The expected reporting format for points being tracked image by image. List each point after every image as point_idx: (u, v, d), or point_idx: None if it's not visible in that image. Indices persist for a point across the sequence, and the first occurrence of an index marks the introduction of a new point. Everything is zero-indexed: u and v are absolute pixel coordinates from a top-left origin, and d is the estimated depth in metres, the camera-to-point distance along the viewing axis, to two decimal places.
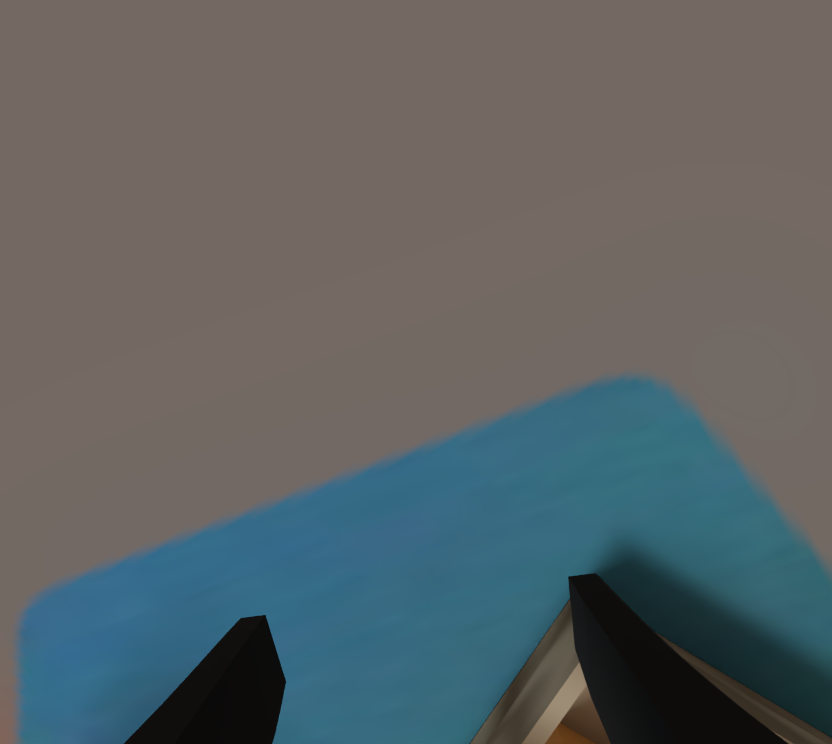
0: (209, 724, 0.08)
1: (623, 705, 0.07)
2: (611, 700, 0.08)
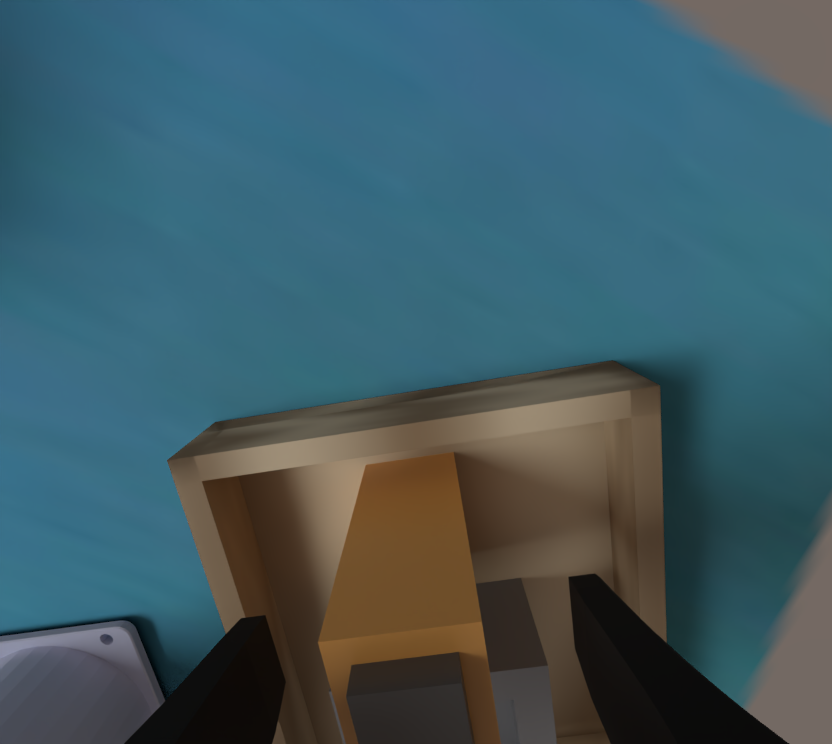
0: (209, 724, 0.08)
1: (623, 705, 0.07)
2: (611, 700, 0.08)
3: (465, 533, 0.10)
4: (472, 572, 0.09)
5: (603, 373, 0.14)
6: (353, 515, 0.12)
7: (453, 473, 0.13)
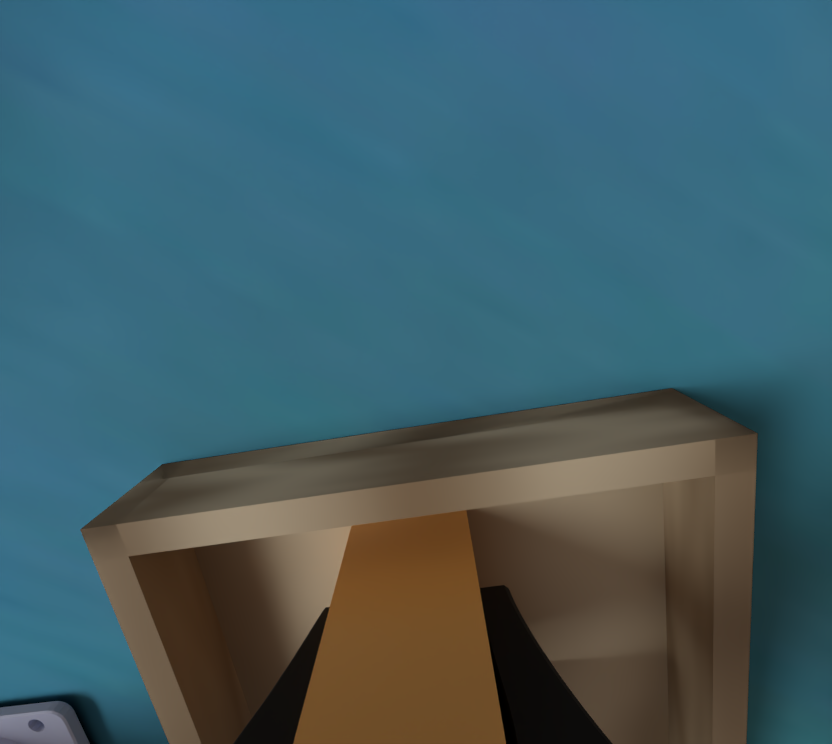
0: None
1: (505, 718, 0.08)
2: (502, 712, 0.08)
3: (489, 661, 0.07)
4: None
5: (665, 408, 0.10)
6: (330, 612, 0.08)
7: (467, 544, 0.10)
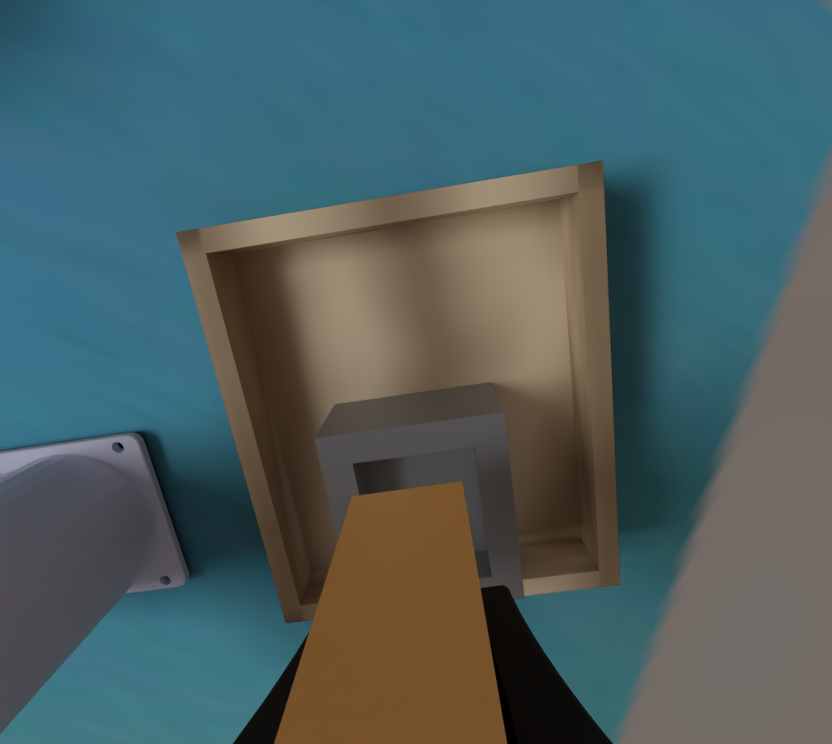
0: None
1: (505, 718, 0.08)
2: (502, 712, 0.08)
3: (481, 610, 0.07)
4: (495, 684, 0.06)
5: None
6: (329, 572, 0.09)
7: (463, 513, 0.10)
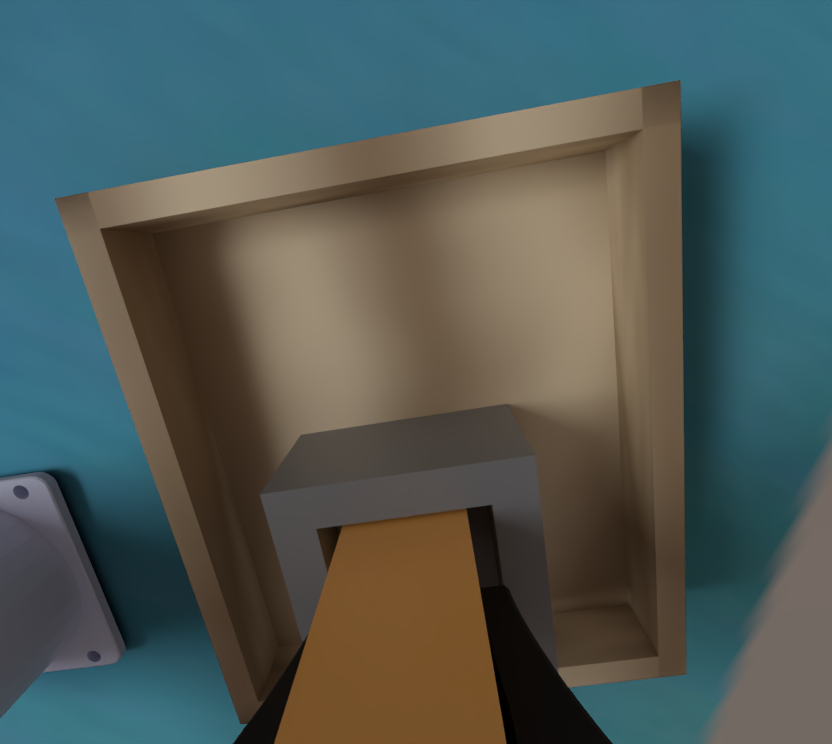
0: None
1: (505, 718, 0.08)
2: (501, 712, 0.08)
3: (481, 610, 0.07)
4: (494, 684, 0.06)
5: None
6: (329, 573, 0.09)
7: (462, 513, 0.10)
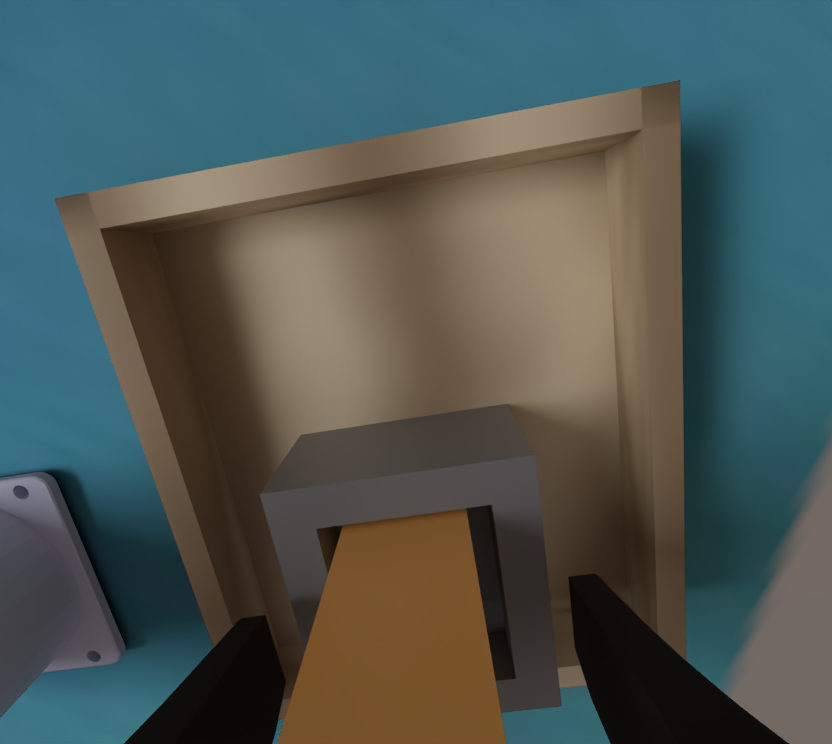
0: (209, 724, 0.08)
1: (623, 705, 0.07)
2: (611, 700, 0.08)
3: (481, 612, 0.07)
4: (494, 687, 0.06)
5: None
6: (330, 574, 0.09)
7: (462, 513, 0.10)
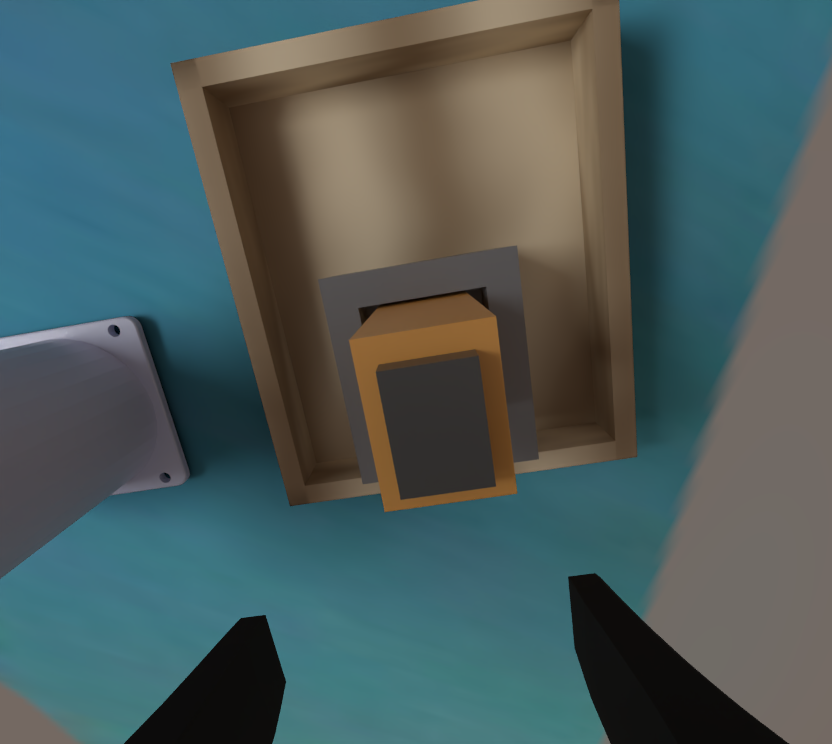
0: (209, 724, 0.08)
1: (623, 705, 0.07)
2: (611, 700, 0.08)
3: (478, 303, 0.11)
4: (485, 308, 0.10)
5: None
6: (372, 314, 0.13)
7: (464, 294, 0.14)
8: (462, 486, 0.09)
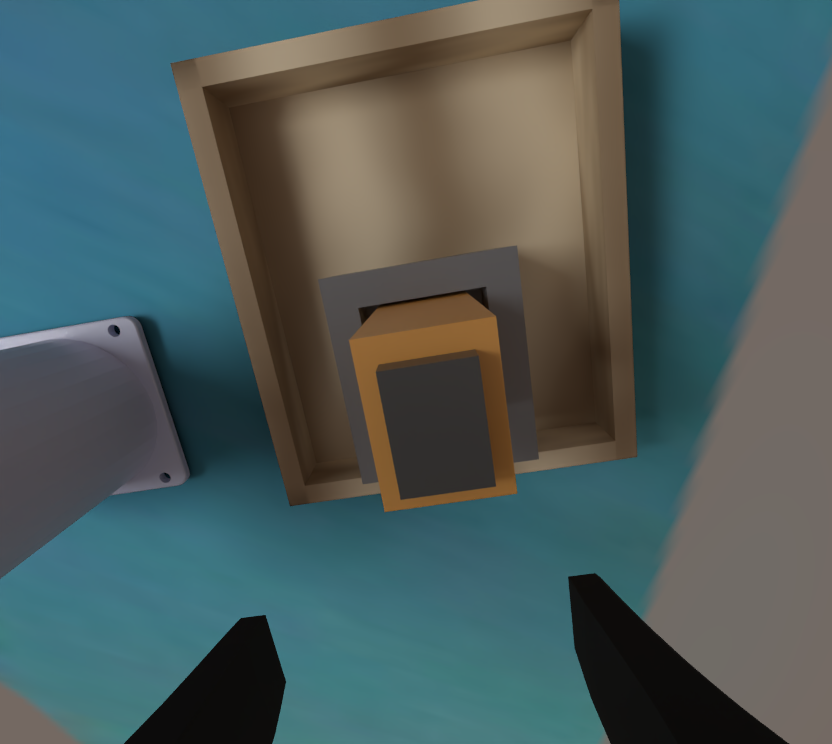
0: (209, 724, 0.08)
1: (623, 705, 0.07)
2: (611, 700, 0.08)
3: (478, 303, 0.11)
4: (485, 308, 0.10)
5: None
6: (372, 314, 0.13)
7: (464, 294, 0.14)
8: (462, 486, 0.09)
